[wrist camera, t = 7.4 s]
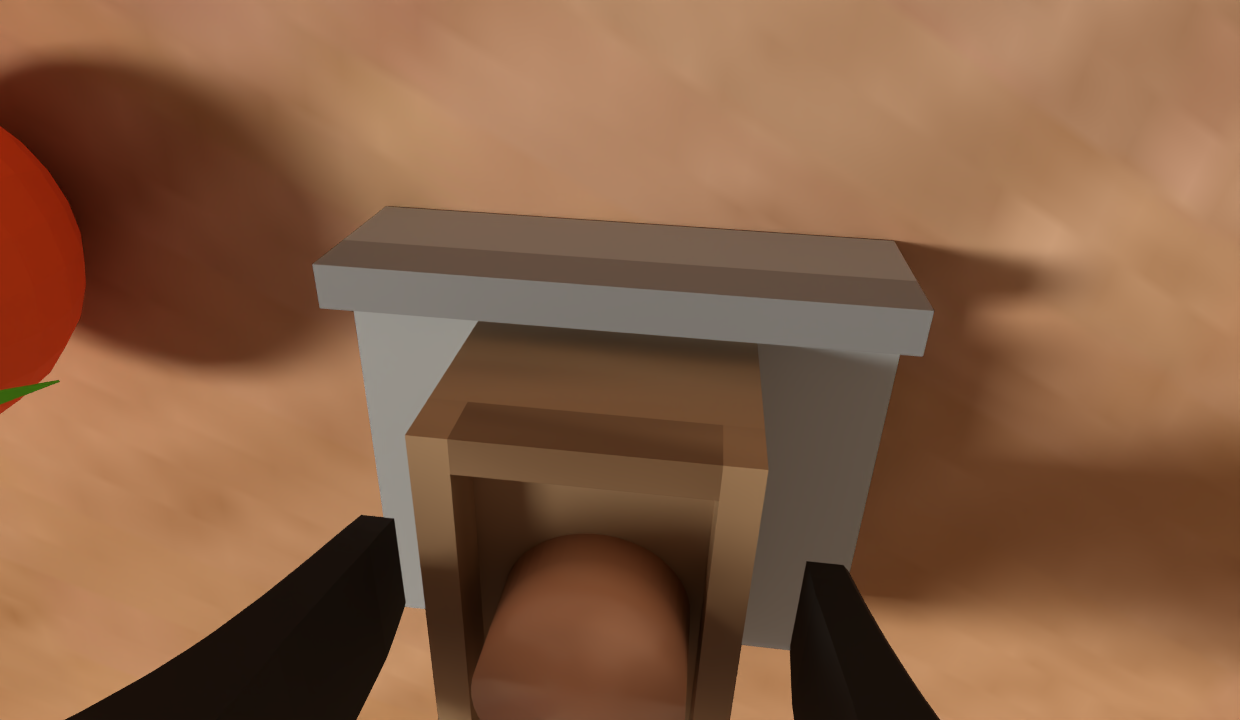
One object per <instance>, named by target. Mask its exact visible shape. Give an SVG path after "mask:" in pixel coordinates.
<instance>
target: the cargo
mask: <svg viewBox="0 0 1240 720" xmlns="http://www.w3.org/2000/svg"><path fill="white" fill-rule="evenodd" d="M689 631H690V604H689V600H688V596H687V593H686V591H685V588H684V586H683V584H682V583H681V581H680V579H679V578H678V576H677V575H676V574H675V572H674V571H673V570H672V569H671V568H670V567H669V566H668V565H667V564H666V563H665V562H664V561H663V560H662V559H660V558H659V557H658V556H656V555H655V554H654V553H652V552H650V551H649V550H647V549H645V548H643V547H641V546H639V545H637V544H635V543H632V542H630V541H627V540H623V539H620V538H617V537H612V536H608V535H600V534H571V535H565V536H560V537H555V538H552V539H549V540H546V541H544V542H542V543H540V544H538V545H536V546H534V547H533V548H531V549H530V550H528V551H527V552H526V553H524V554H523V555H522V556H521V557H520V558H519V559H518V561H517V562H516V563H515V564H514V566H513V567H512V569H511V571H510V573H509V575H508V578H507V581H506V583H505V586H504V589H503V592H502V595H501V598H500V600H499V603H498V606H497V609H496V612H495V615H494V617H493V620H492V623H491V626H490V629H489V632H488V634H487V637H486V640H485V643H484V646H483V649H482V652H481V654H480V657H479V660H478V663H477V666H476V669H475V671H474V674H473V677H472V684H471V695H472V701H473V705H474V708H475V711H476V713H477V716H478V717H479V719H480V720H685V713H686V692H687V672H688V651H689Z"/></svg>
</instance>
